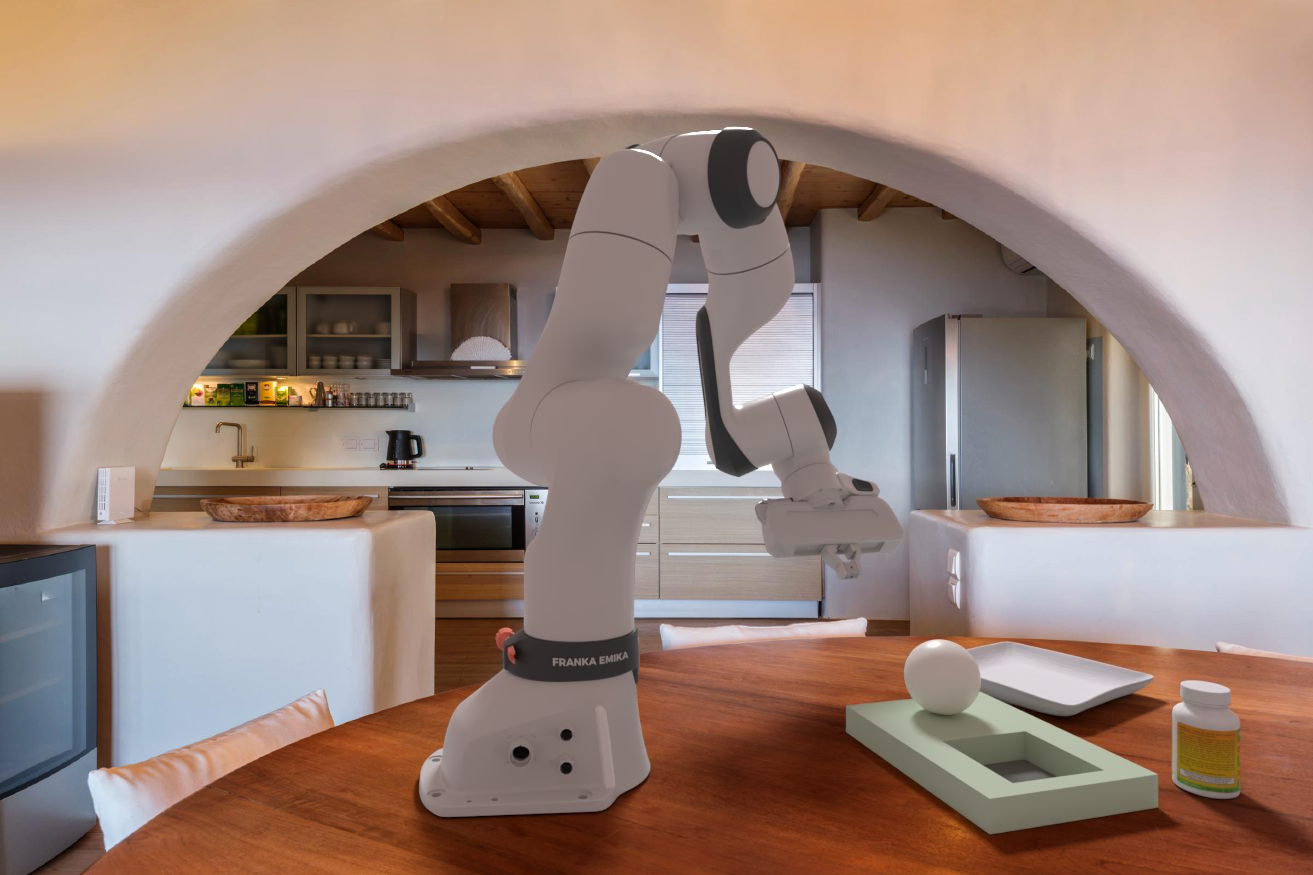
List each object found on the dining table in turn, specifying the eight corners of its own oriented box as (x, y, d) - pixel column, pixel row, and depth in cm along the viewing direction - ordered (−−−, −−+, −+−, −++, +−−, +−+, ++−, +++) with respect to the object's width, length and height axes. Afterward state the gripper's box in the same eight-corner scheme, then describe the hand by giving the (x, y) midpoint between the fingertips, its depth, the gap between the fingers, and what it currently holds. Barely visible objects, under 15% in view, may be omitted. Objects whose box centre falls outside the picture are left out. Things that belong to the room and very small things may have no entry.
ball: (932, 729, 82) (932, 652, 82) (889, 704, 90) (889, 634, 90) (997, 721, 84) (997, 647, 84) (950, 698, 92) (950, 629, 92)
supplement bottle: (1252, 803, 72) (1252, 697, 72) (1187, 797, 73) (1187, 693, 73) (1222, 778, 77) (1223, 679, 77) (1162, 773, 78) (1162, 676, 78)
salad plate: (1158, 698, 102) (1158, 672, 102) (1072, 733, 90) (1072, 703, 90) (1006, 660, 120) (1006, 638, 120) (917, 685, 108) (917, 660, 108)
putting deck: (989, 834, 66) (989, 798, 66) (846, 731, 89) (846, 705, 89) (1158, 807, 71) (1158, 774, 71) (980, 716, 94) (980, 691, 94)
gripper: (757, 485, 110) (788, 566, 101) (886, 483, 116) (926, 559, 106) (745, 513, 114) (773, 594, 105) (870, 510, 120) (907, 586, 111)
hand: (851, 576), depth 106 cm, fingers closed
